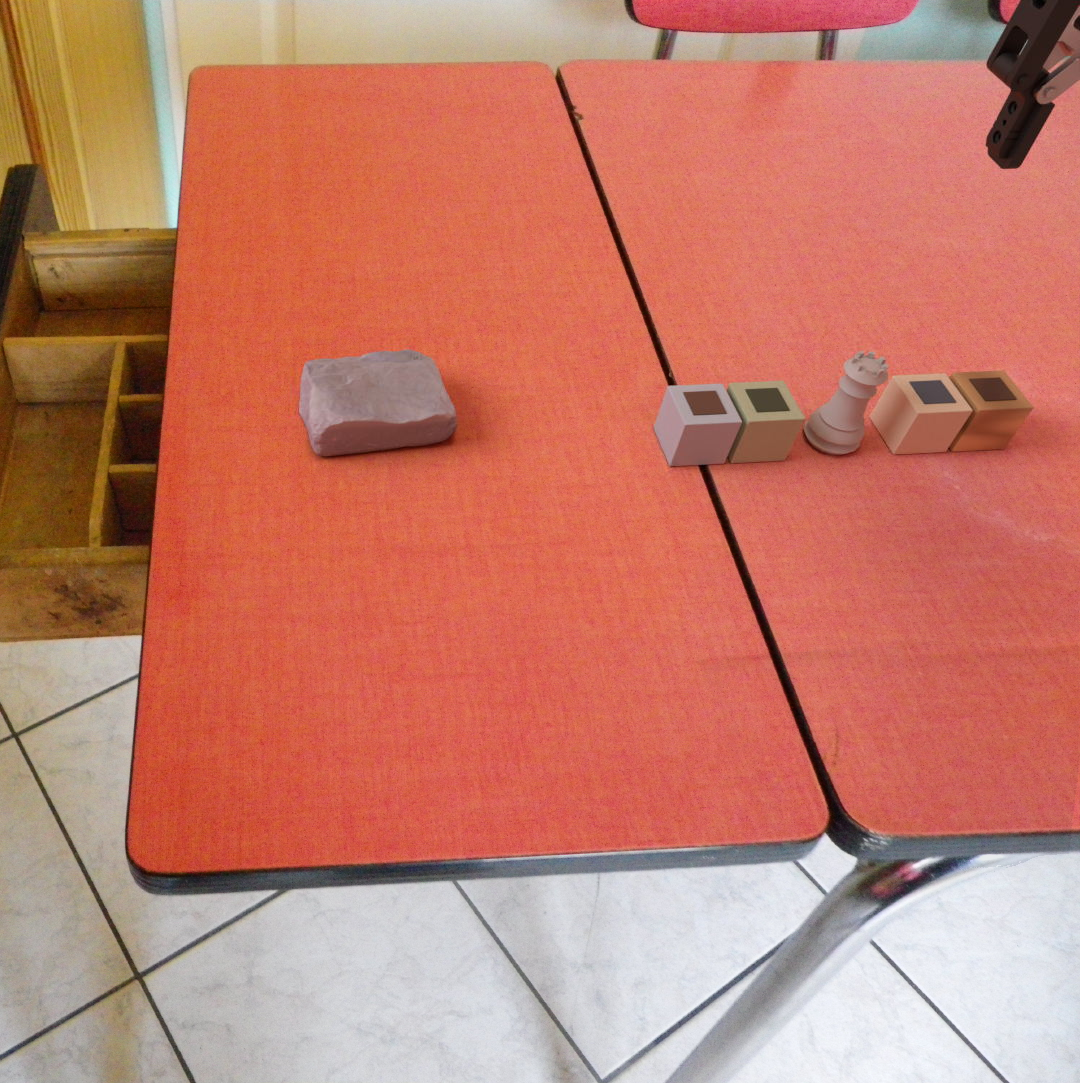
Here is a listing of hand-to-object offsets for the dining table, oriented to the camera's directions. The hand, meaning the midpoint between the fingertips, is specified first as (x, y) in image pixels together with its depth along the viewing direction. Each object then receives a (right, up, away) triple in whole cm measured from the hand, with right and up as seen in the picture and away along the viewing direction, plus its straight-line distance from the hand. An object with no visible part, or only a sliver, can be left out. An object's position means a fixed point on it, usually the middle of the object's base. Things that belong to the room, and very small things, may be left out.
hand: (1073, 160), depth 55 cm
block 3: (+5, -12, +26) cm, 30 cm away
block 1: (-13, -13, +25) cm, 31 cm away
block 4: (+10, -12, +27) cm, 31 cm away
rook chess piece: (-1, -13, +26) cm, 29 cm away
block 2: (-8, -13, +25) cm, 30 cm away
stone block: (-38, -11, +27) cm, 48 cm away
